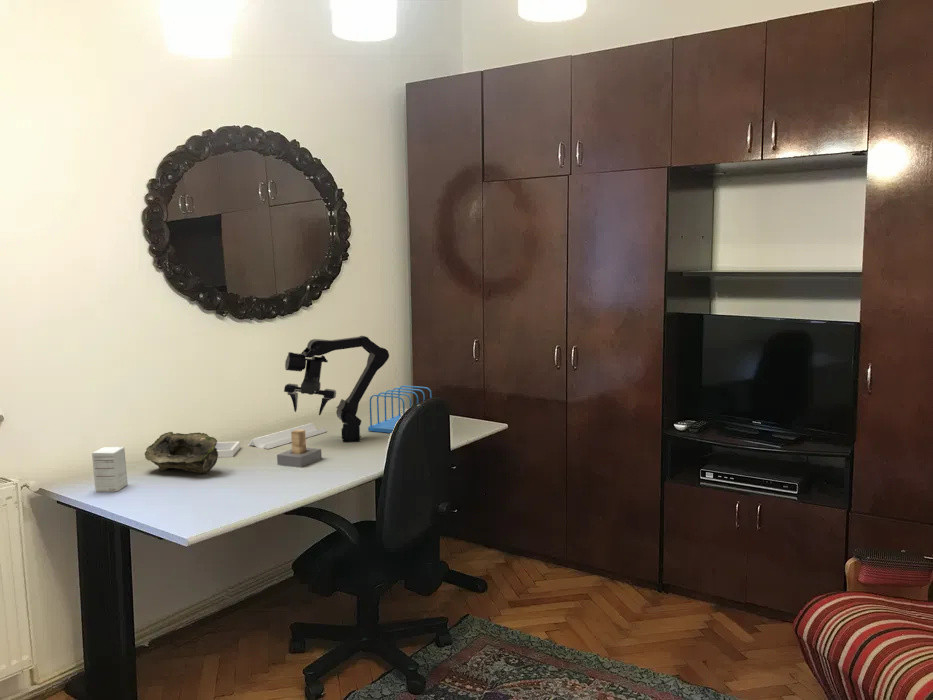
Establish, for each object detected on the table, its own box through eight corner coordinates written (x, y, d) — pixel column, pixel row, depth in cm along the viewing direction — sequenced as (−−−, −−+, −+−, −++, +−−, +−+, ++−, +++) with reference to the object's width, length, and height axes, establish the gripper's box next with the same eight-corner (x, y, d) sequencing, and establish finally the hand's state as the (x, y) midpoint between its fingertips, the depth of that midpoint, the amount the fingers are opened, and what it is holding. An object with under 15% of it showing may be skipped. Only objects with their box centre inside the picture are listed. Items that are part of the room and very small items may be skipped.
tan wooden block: (299, 457, 281) (298, 429, 280) (306, 457, 280) (305, 430, 279) (292, 459, 278) (291, 431, 276) (299, 460, 276) (298, 432, 275)
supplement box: (105, 485, 256) (102, 446, 255) (128, 484, 256) (125, 446, 255) (94, 492, 249) (91, 452, 248) (117, 491, 249) (114, 452, 247)
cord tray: (240, 447, 301) (239, 441, 300) (232, 456, 288) (232, 450, 287) (205, 449, 300) (204, 442, 300) (196, 458, 287) (195, 451, 287)
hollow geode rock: (219, 489, 265) (240, 450, 273) (196, 470, 256) (219, 430, 264) (159, 476, 278) (181, 440, 286) (136, 458, 269) (159, 421, 277)
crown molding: (267, 451, 298) (267, 441, 297) (246, 447, 304) (245, 438, 304) (326, 433, 323) (326, 425, 323) (305, 430, 330) (305, 422, 329)
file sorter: (405, 435, 315) (403, 397, 313) (367, 432, 323) (366, 394, 321) (434, 422, 338) (433, 386, 336) (398, 419, 345) (397, 384, 343)
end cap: (298, 456, 287) (298, 446, 286) (321, 458, 282) (321, 449, 282) (277, 464, 276) (276, 454, 275) (301, 467, 272) (300, 457, 271)
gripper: (283, 371, 291) (278, 412, 292) (333, 378, 291) (328, 420, 292) (290, 368, 302) (284, 409, 303) (338, 375, 303) (333, 415, 303)
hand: (307, 413), depth 300 cm, fingers open, 9 cm apart
